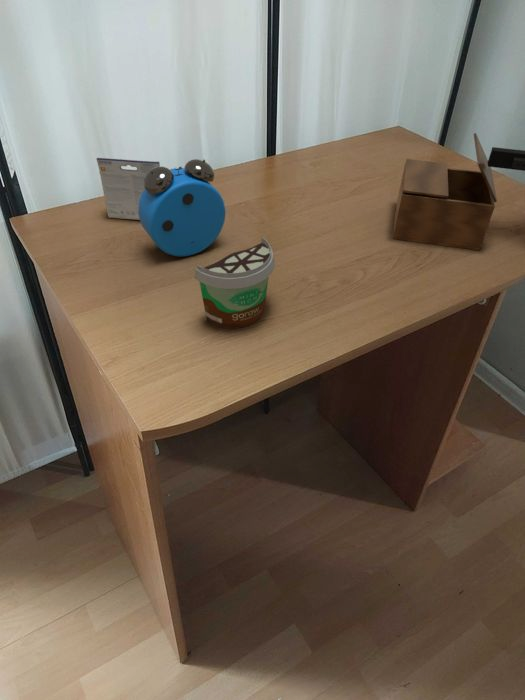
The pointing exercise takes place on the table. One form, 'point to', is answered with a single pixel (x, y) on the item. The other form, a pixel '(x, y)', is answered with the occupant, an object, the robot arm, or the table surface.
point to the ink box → (123, 185)
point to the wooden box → (442, 205)
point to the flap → (484, 167)
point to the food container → (237, 286)
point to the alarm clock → (182, 208)
